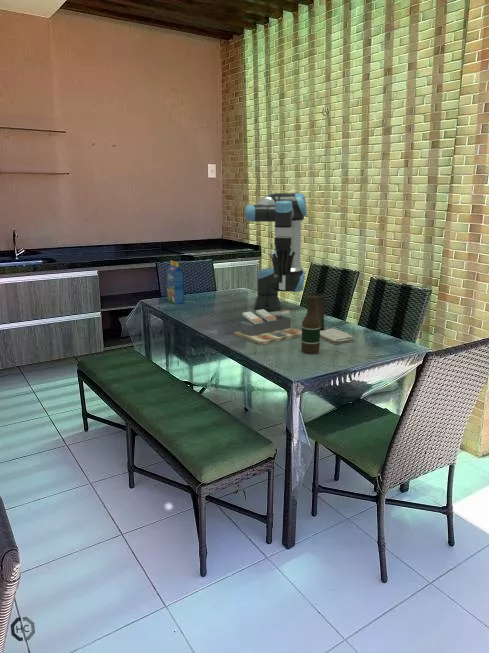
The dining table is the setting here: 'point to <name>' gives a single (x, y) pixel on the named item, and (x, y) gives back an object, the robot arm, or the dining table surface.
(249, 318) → the switch
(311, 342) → the beer bottle
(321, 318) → the container
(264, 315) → the switch middle
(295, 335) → the switch board
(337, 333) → the washcloth
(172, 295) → the blue food package
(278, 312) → the switch
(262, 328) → the switch housing
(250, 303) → the dining table surface
